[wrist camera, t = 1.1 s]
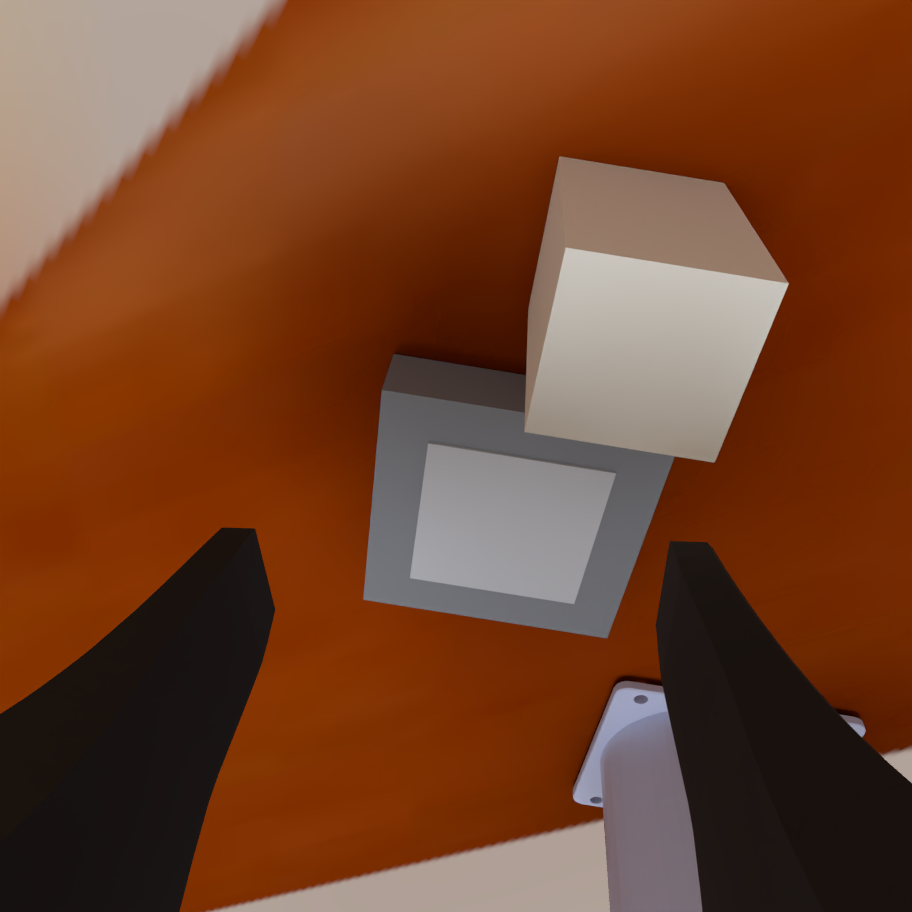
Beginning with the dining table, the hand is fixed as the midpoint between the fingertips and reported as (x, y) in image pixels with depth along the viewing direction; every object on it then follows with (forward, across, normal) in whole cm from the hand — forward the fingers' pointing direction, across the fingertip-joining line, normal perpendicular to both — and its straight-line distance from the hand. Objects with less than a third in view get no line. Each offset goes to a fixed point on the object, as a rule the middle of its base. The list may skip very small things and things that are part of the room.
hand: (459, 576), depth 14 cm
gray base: (+10, -1, +5) cm, 11 cm away
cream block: (+10, -3, -2) cm, 10 cm away
